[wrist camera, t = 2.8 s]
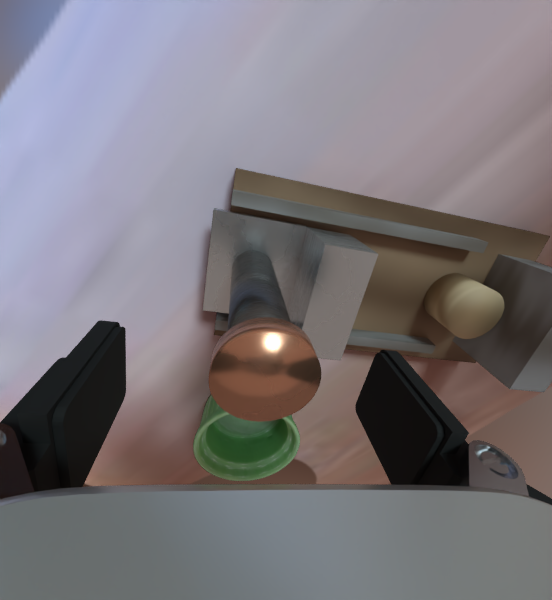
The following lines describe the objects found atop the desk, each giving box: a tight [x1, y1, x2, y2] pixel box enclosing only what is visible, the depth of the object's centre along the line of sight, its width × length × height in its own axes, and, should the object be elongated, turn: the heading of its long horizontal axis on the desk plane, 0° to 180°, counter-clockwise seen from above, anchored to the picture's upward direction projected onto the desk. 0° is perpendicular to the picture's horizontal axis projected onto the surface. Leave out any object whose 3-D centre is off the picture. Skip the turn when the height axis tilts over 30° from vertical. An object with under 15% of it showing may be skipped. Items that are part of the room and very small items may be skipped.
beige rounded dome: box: [424, 273, 504, 339], centre depth 22 cm, size 4×4×3 cm
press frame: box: [214, 168, 552, 392], centre depth 20 cm, size 12×24×8 cm, turn 79°
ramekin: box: [193, 395, 300, 481], centre depth 26 cm, size 9×9×4 cm
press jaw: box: [203, 208, 378, 422], centre depth 15 cm, size 7×9×12 cm
